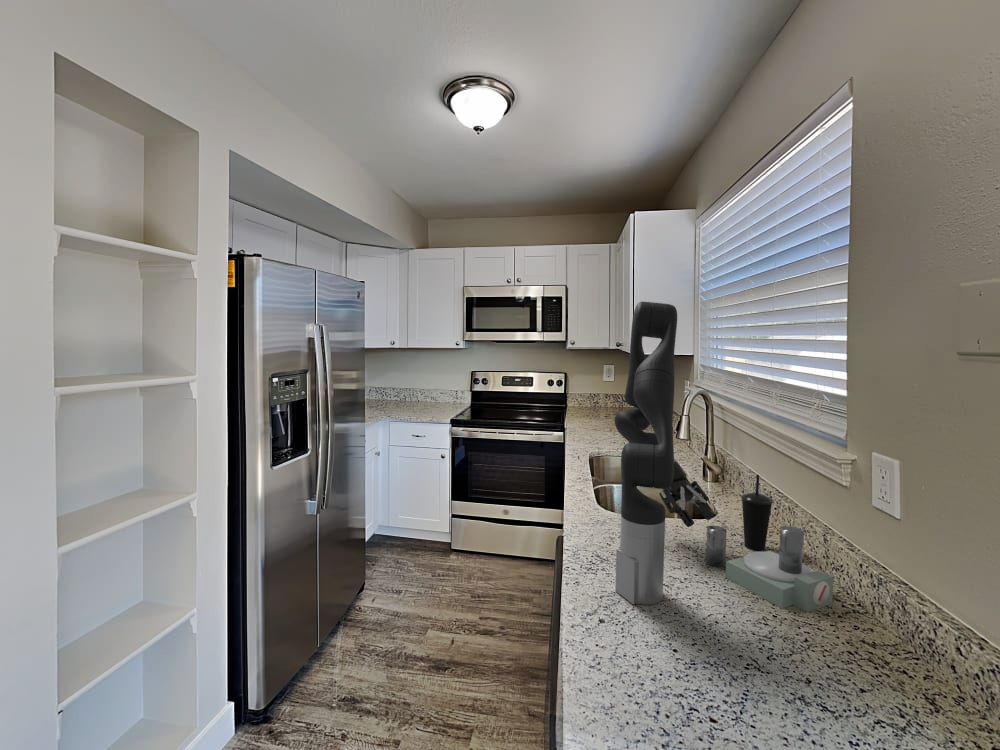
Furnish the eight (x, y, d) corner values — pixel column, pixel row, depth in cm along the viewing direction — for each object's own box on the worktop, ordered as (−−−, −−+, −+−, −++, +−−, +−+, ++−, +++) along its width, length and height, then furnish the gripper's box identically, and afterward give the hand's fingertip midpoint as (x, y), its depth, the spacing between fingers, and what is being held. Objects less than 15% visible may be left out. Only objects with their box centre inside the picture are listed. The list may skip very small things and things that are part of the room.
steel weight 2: (793, 575, 101) (795, 535, 100) (773, 566, 105) (775, 527, 104) (806, 571, 103) (808, 532, 102) (787, 563, 107) (788, 524, 106)
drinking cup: (768, 556, 121) (772, 480, 120) (736, 548, 126) (739, 475, 125) (772, 546, 128) (776, 474, 126) (741, 539, 132) (744, 469, 131)
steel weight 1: (716, 569, 114) (717, 533, 113) (702, 561, 118) (703, 527, 117) (729, 566, 116) (730, 530, 115) (714, 558, 120) (715, 524, 119)
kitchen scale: (798, 617, 94) (800, 588, 94) (725, 577, 110) (726, 552, 110) (844, 601, 100) (846, 574, 100) (769, 566, 116) (770, 542, 116)
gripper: (656, 464, 122) (694, 521, 114) (689, 457, 130) (727, 509, 121) (639, 479, 127) (674, 534, 118) (672, 471, 135) (707, 523, 126)
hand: (701, 522), depth 120 cm, fingers open, 8 cm apart
